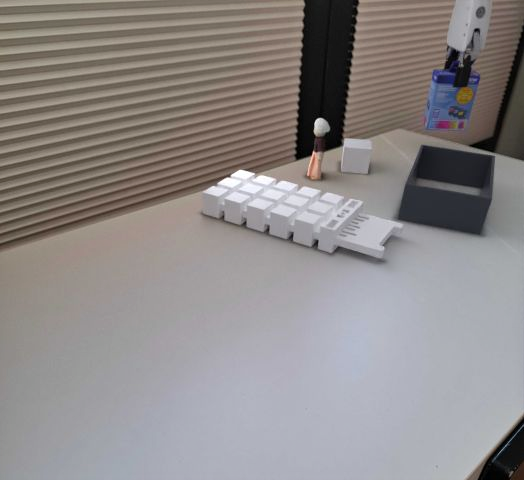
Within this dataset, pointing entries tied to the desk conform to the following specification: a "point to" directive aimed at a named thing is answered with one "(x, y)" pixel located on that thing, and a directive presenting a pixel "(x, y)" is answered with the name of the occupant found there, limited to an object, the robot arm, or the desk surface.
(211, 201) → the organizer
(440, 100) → the ink cartridge box
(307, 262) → the desk surface
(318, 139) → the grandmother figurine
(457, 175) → the bin
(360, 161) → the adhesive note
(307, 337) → the desk surface
